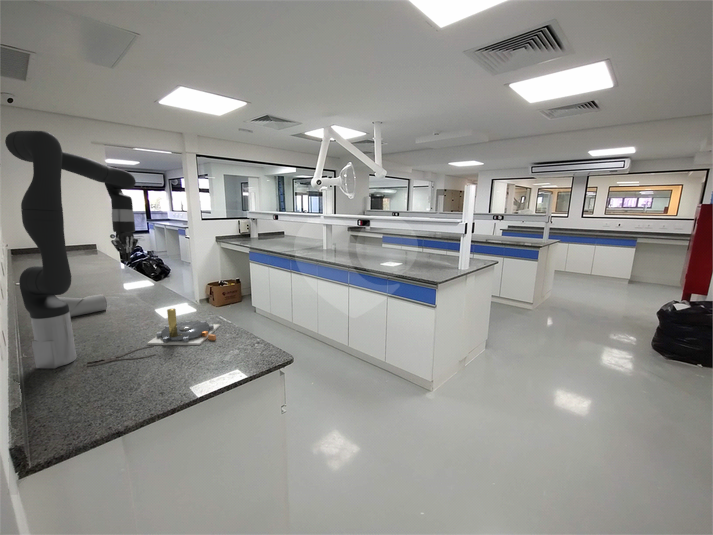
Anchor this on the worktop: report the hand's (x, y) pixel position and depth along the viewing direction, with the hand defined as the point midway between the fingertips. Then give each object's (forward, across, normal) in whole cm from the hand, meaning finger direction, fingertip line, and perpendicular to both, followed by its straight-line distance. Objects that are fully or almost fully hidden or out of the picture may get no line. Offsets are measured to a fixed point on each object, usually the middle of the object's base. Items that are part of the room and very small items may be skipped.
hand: (127, 261), depth 130 cm
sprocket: (+29, -6, -27) cm, 40 cm away
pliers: (+32, -27, -16) cm, 45 cm away
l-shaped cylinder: (+29, +18, +40) cm, 52 cm away
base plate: (+30, -6, -29) cm, 42 cm away
